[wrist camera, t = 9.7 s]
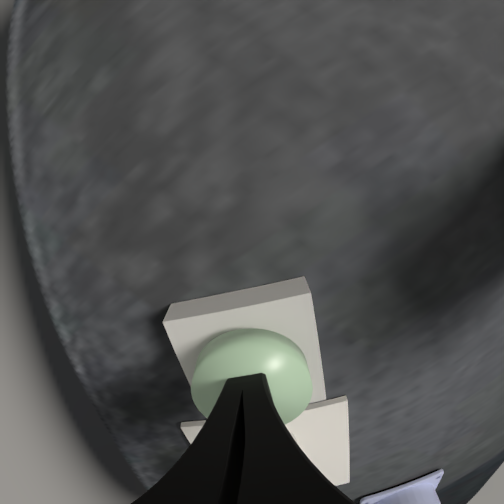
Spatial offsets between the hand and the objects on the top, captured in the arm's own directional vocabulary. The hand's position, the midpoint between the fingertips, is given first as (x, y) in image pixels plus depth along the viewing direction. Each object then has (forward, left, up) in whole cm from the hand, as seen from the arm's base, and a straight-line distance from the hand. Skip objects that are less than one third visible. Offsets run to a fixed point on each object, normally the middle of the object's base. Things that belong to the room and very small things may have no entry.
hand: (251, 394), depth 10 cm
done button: (0, 0, -3) cm, 3 cm away
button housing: (0, 0, -3) cm, 3 cm away
